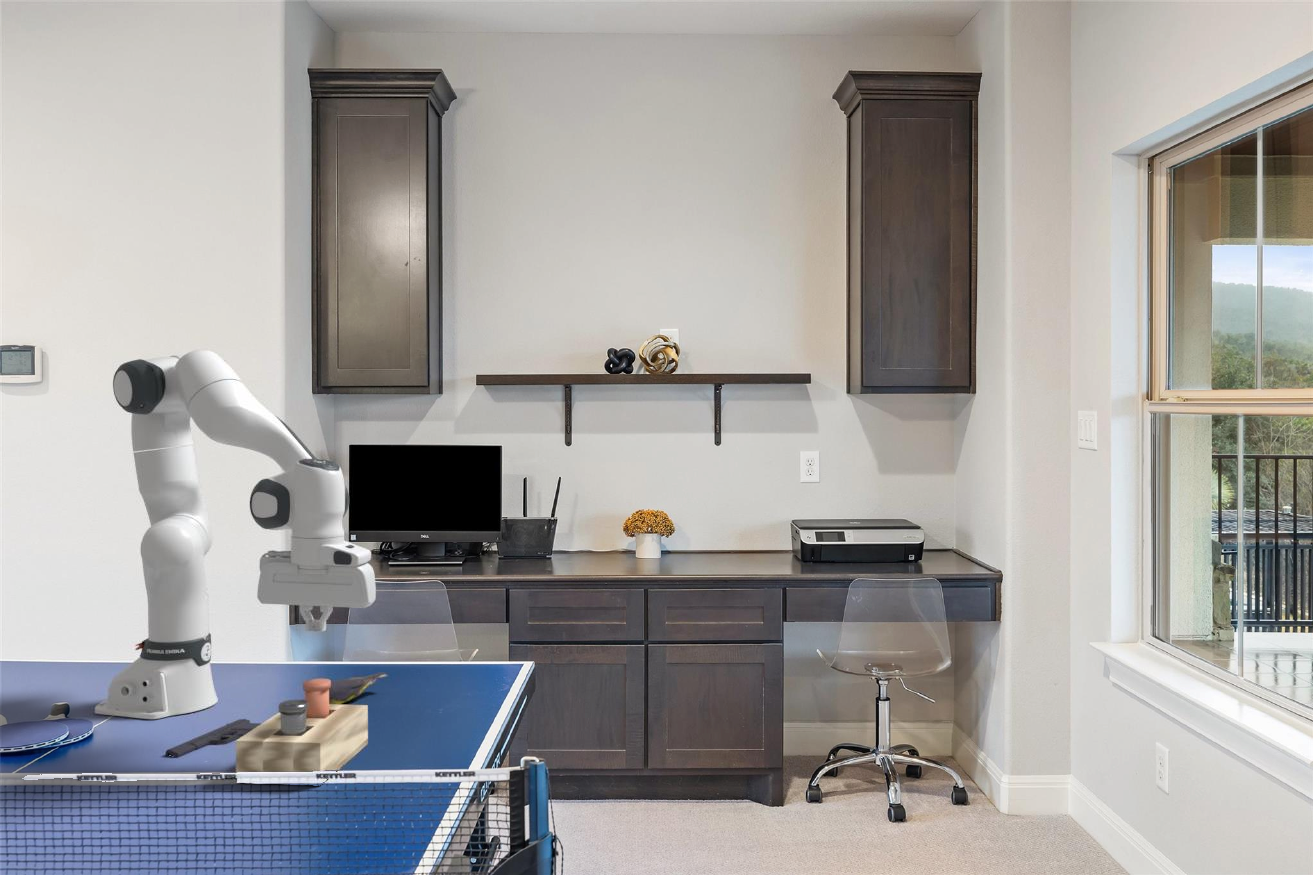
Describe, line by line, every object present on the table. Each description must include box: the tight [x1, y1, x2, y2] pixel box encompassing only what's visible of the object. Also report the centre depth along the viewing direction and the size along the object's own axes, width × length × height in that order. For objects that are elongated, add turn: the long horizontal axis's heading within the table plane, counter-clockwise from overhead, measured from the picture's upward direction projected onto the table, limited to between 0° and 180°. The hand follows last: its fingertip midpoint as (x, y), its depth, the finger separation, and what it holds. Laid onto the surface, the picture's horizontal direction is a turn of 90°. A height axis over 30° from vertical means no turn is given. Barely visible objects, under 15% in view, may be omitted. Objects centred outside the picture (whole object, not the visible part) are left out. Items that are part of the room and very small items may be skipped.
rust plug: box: [302, 678, 332, 719], centre depth 166 cm, size 5×5×10 cm
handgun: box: [165, 718, 263, 758], centre depth 171 cm, size 18×2×12 cm
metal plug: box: [278, 699, 308, 736], centre depth 157 cm, size 5×5×10 cm
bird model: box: [329, 672, 389, 705], centre depth 196 cm, size 5×20×5 cm, turn 144°
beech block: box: [235, 704, 369, 773], centre depth 161 cm, size 14×20×7 cm
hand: (315, 630), depth 165 cm, fingers closed
